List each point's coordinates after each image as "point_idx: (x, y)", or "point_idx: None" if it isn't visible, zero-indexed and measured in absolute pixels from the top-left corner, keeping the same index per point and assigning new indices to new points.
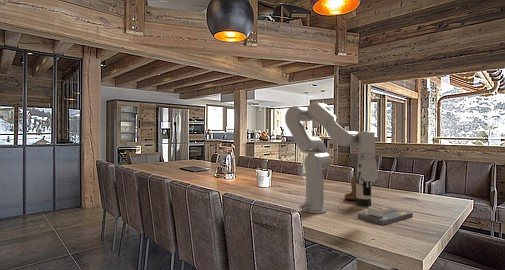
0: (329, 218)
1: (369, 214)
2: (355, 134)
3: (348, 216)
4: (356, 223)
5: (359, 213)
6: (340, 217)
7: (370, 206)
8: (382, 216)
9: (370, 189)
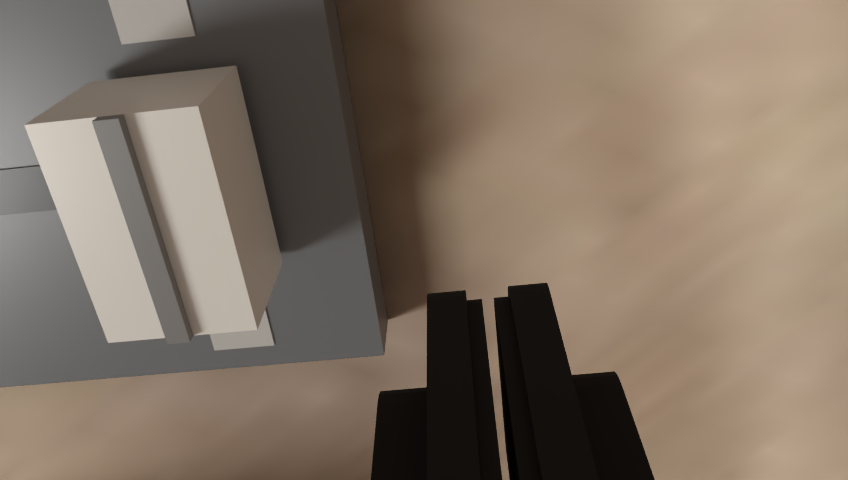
0: (755, 432)
1: None
2: None
3: None
4: (634, 141)
5: (358, 349)
6: None
7: (190, 330)
8: None
9: (458, 449)
